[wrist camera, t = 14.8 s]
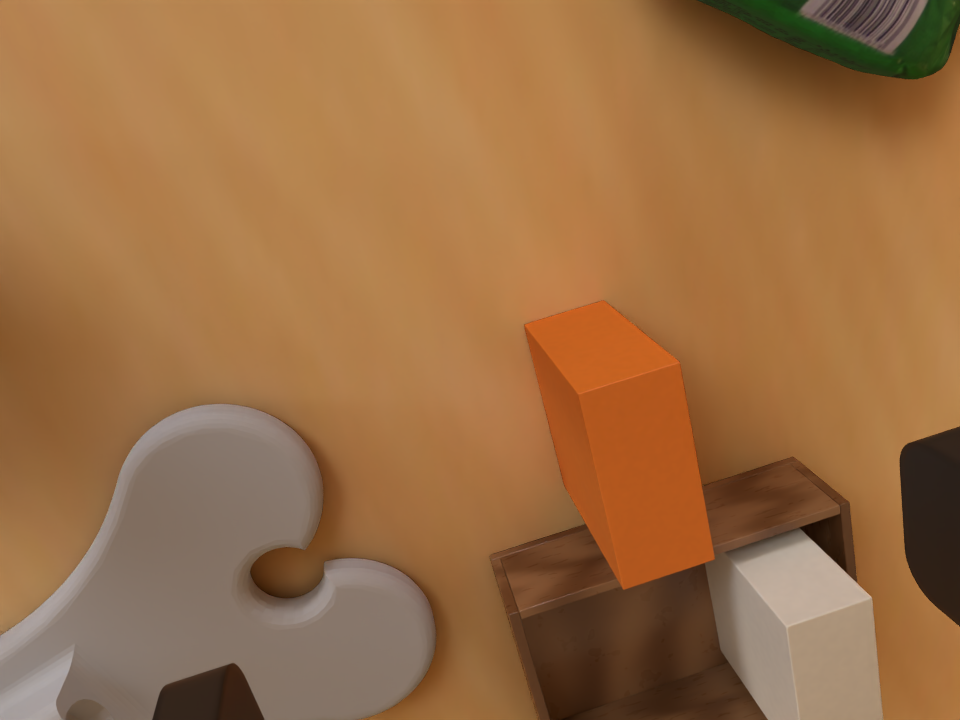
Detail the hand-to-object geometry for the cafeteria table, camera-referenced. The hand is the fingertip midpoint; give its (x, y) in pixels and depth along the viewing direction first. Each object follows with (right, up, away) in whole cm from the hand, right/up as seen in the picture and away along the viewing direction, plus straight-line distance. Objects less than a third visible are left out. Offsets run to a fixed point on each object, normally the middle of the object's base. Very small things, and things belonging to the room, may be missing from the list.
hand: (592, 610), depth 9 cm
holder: (-21, -14, +31) cm, 40 cm away
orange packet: (+4, +1, +30) cm, 30 cm away
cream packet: (+13, -9, +35) cm, 38 cm away
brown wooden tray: (+9, -10, +35) cm, 37 cm away
